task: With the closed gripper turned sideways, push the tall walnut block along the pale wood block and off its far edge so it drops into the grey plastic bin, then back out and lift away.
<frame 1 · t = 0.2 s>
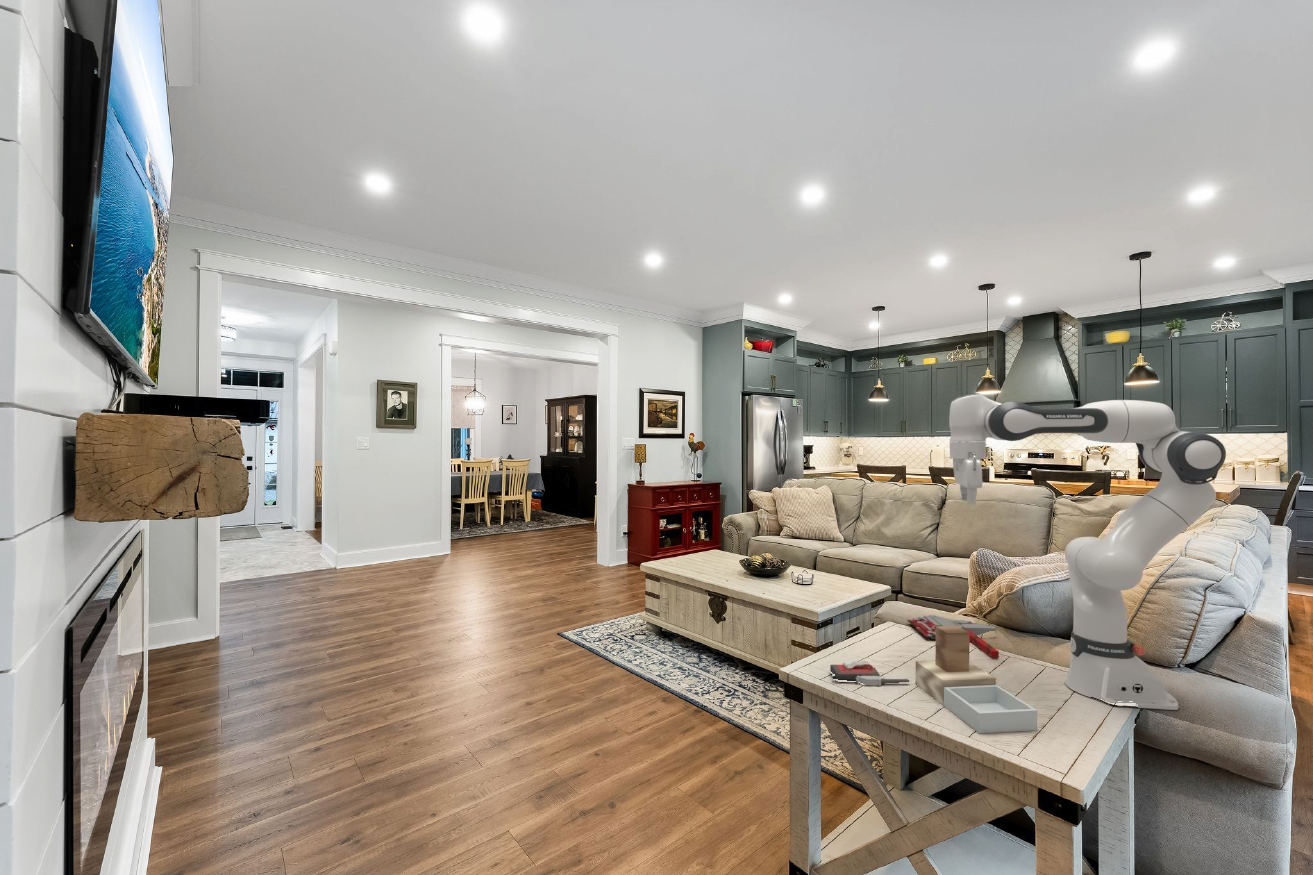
hand: (968, 502, 158), 48 cm above the table, tool pointing down, fingers open, 8 cm apart
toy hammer: (962, 642, 184), on the table
walnut block: (952, 667, 148), point 6 cm above the table, touching pale wood block
toy chainsaw: (866, 681, 155), on the table
pale wood block: (954, 692, 147), on the table
grey bin: (988, 717, 134), on the table
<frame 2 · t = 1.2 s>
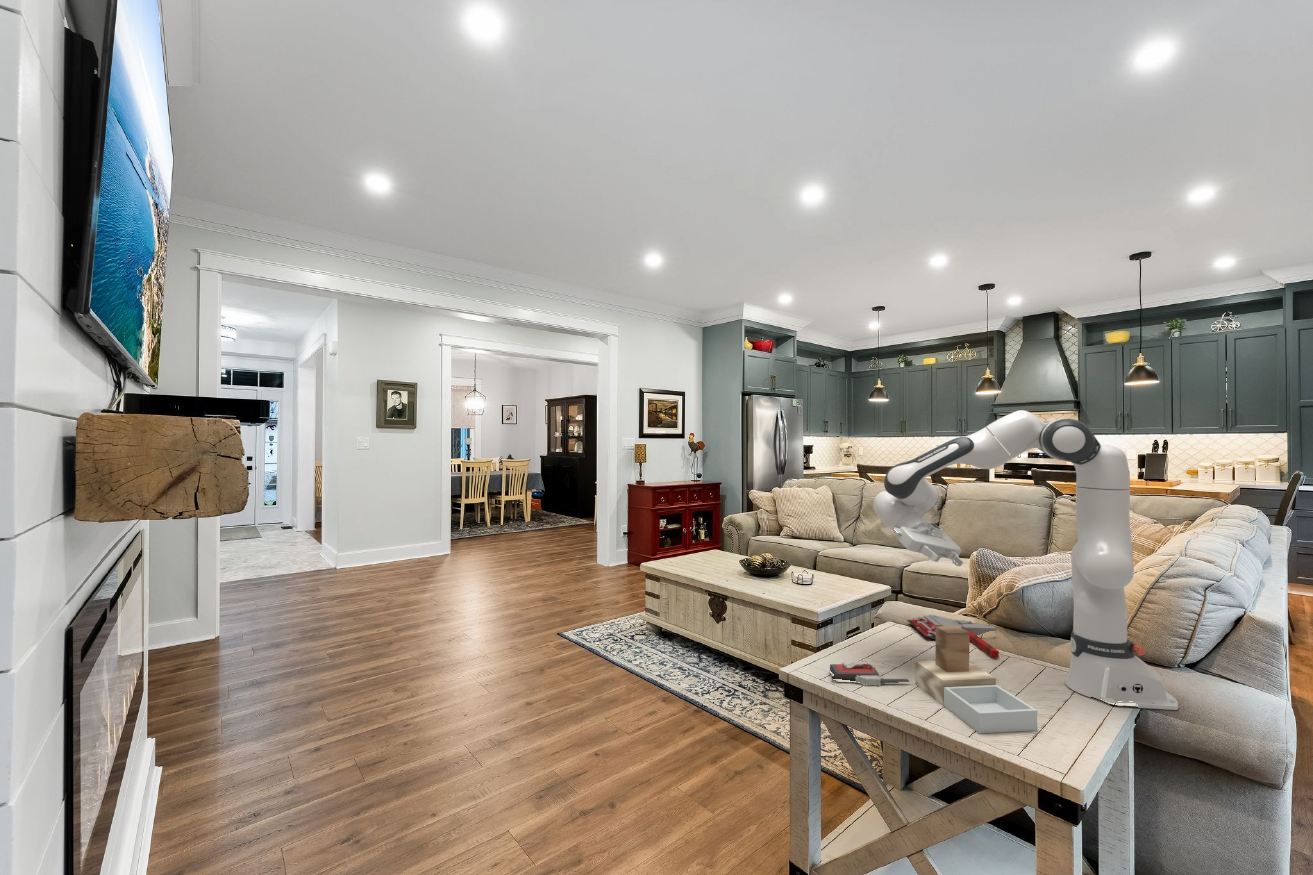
hand: (948, 561, 154), 32 cm above the table, tool tilted 65°, fingers open, 8 cm apart
nothing on the table moved.
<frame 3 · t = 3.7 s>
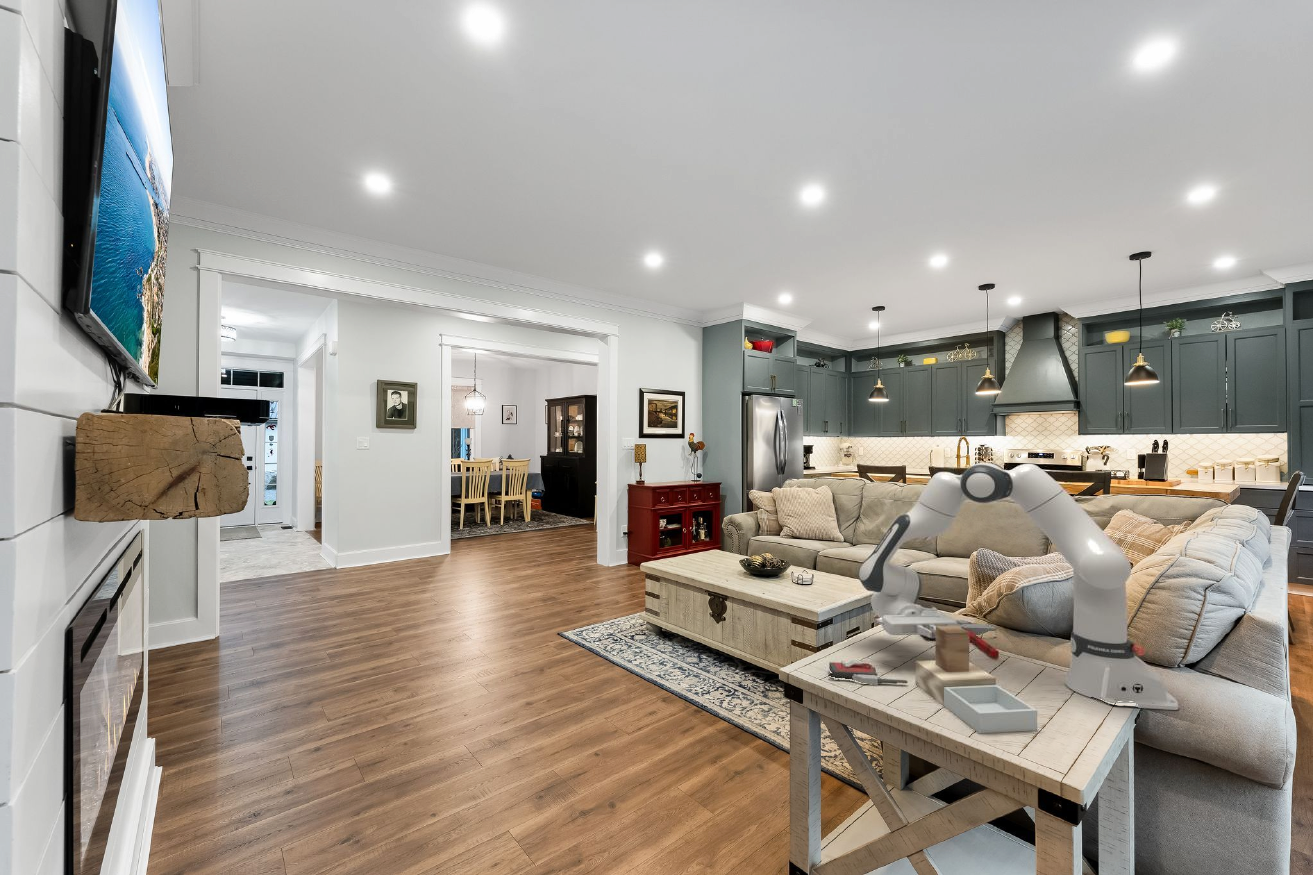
hand: (934, 634, 155), 12 cm above the table, tool horizontal, fingers closed
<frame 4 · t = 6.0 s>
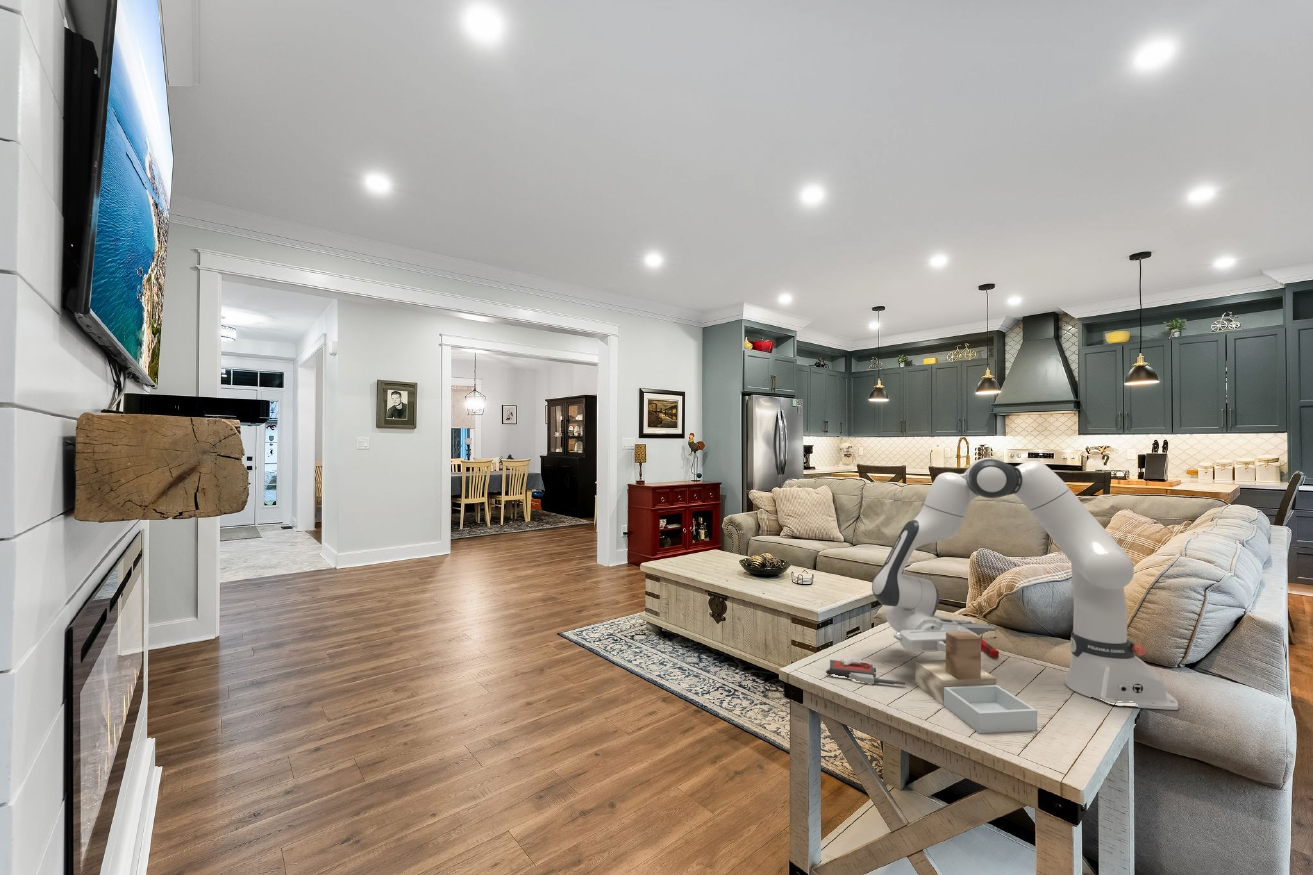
hand: (957, 651, 146), 11 cm above the table, tool horizontal, fingers closed
walnut block: (962, 674, 143), point 6 cm above the table
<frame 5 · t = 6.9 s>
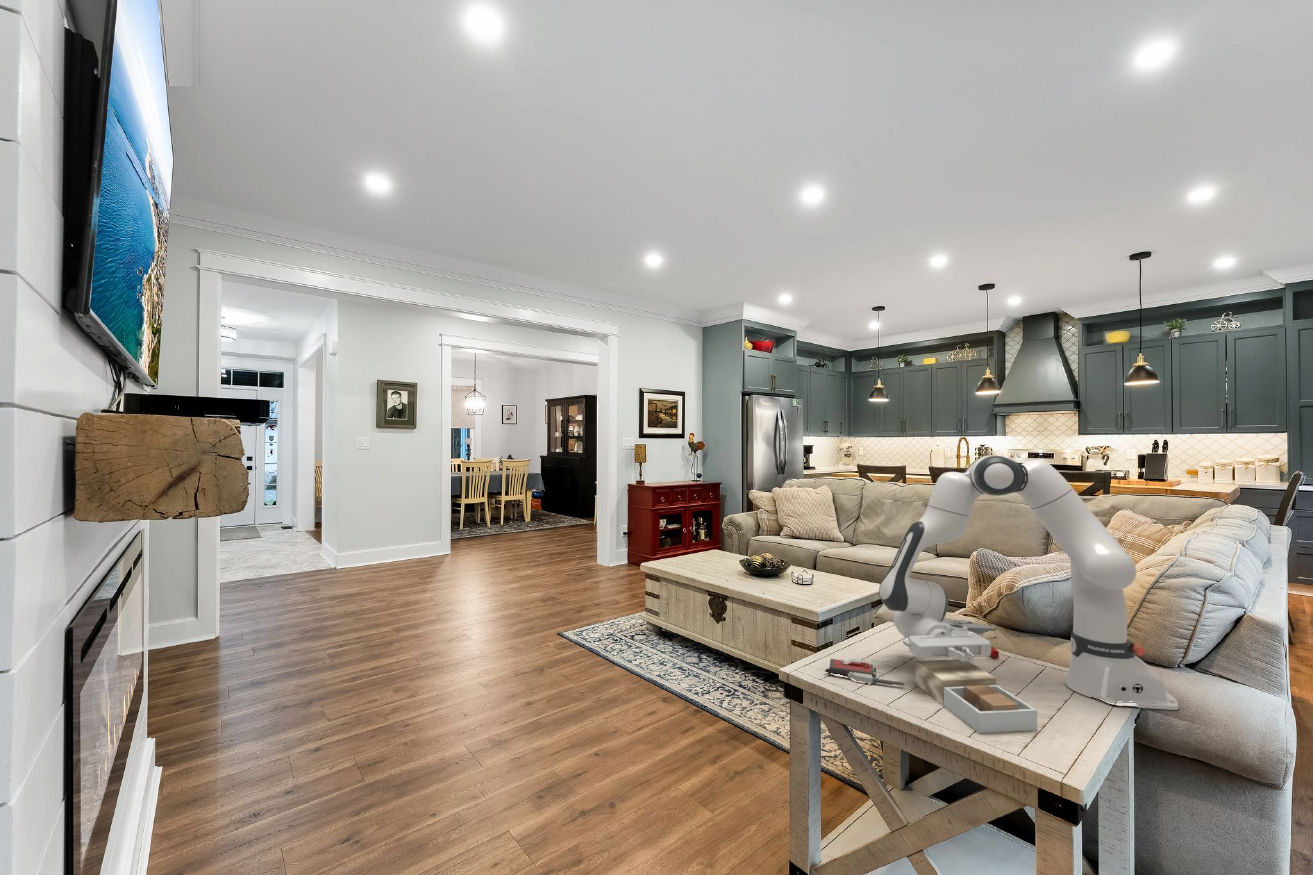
hand: (968, 658, 141), 11 cm above the table, tool horizontal, fingers closed
walnut block: (975, 695, 138), point 3 cm above the table, tilted 90°, touching grey bin
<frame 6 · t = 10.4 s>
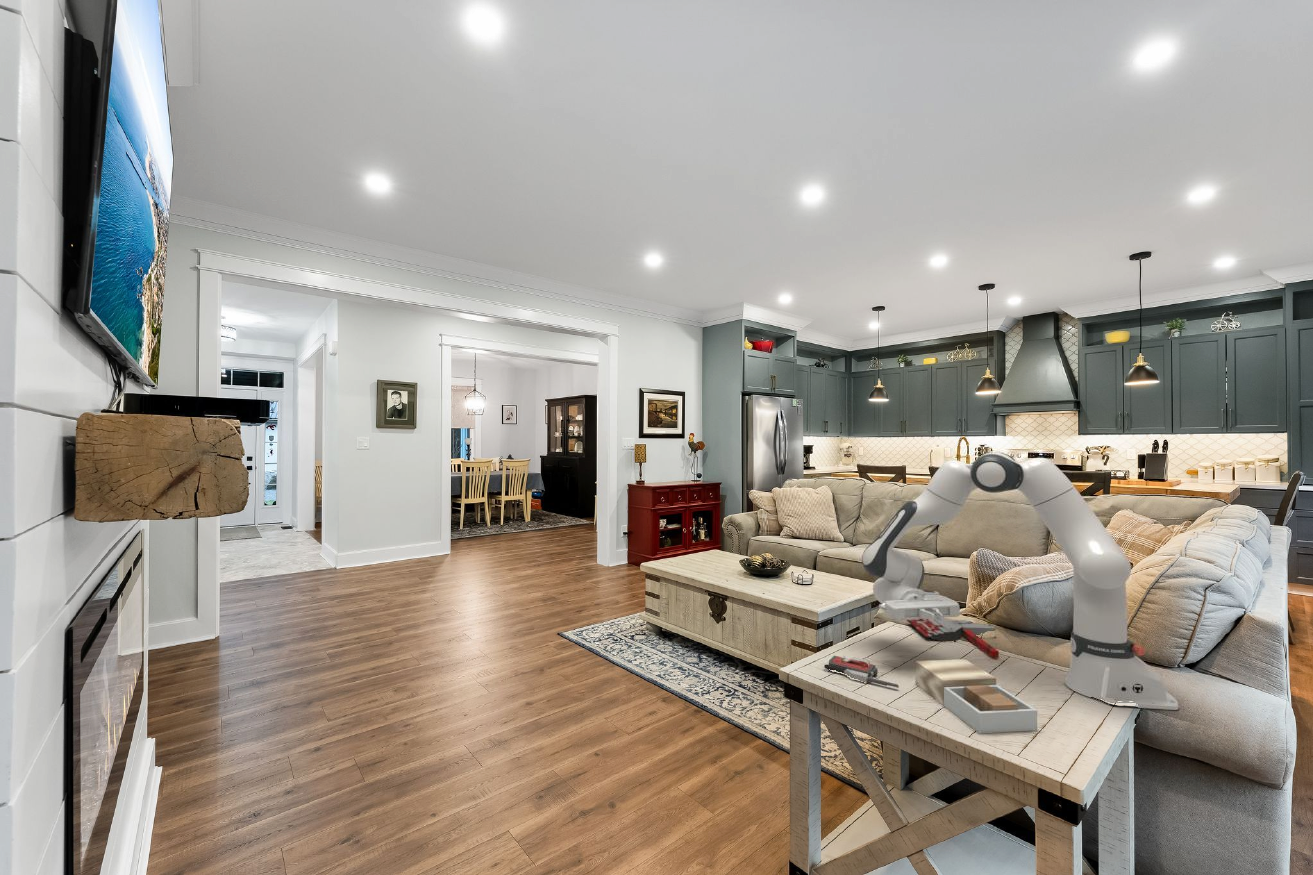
hand: (937, 617, 154), 17 cm above the table, tool horizontal, fingers closed
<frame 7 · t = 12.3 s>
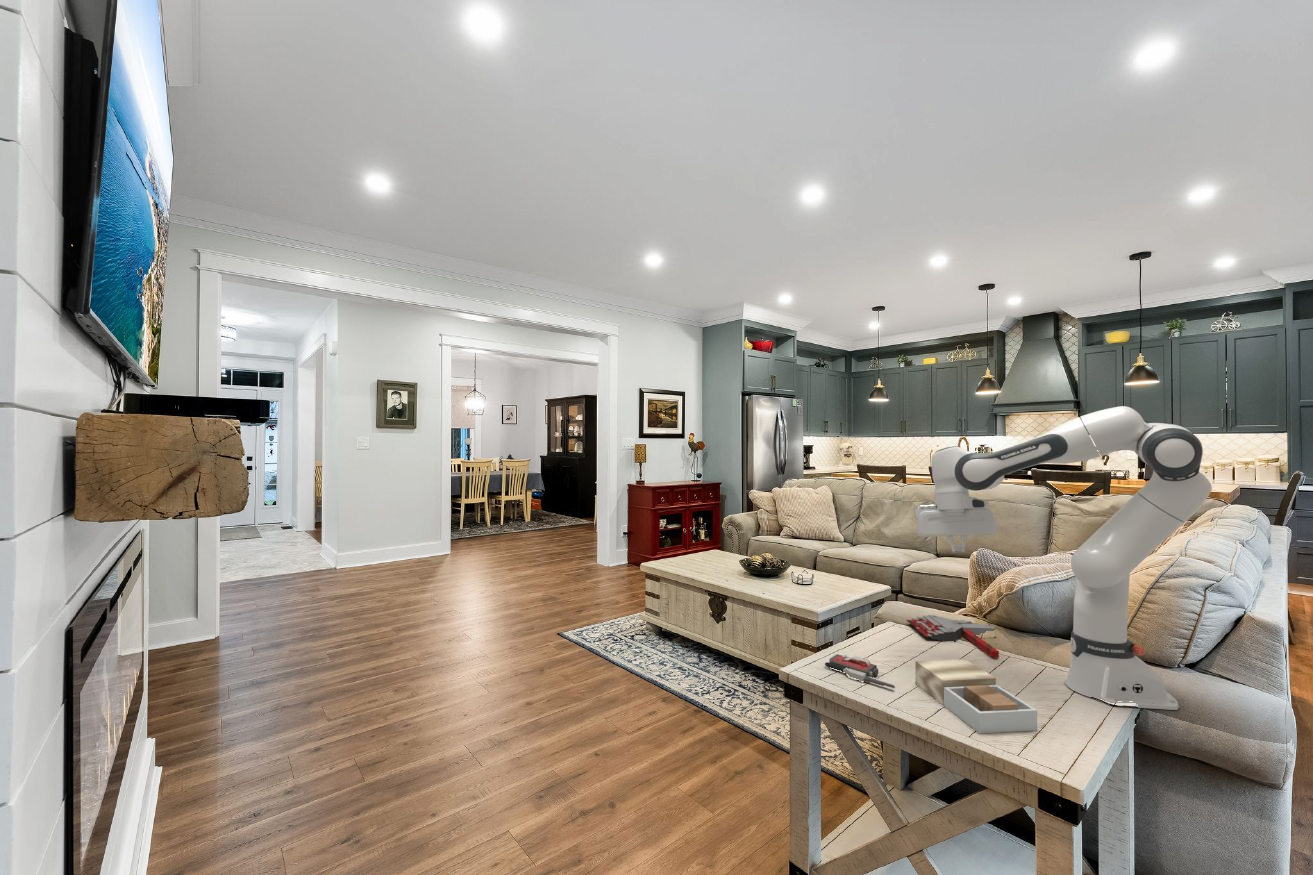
hand: (958, 552, 163), 33 cm above the table, tool pointing down, fingers closed
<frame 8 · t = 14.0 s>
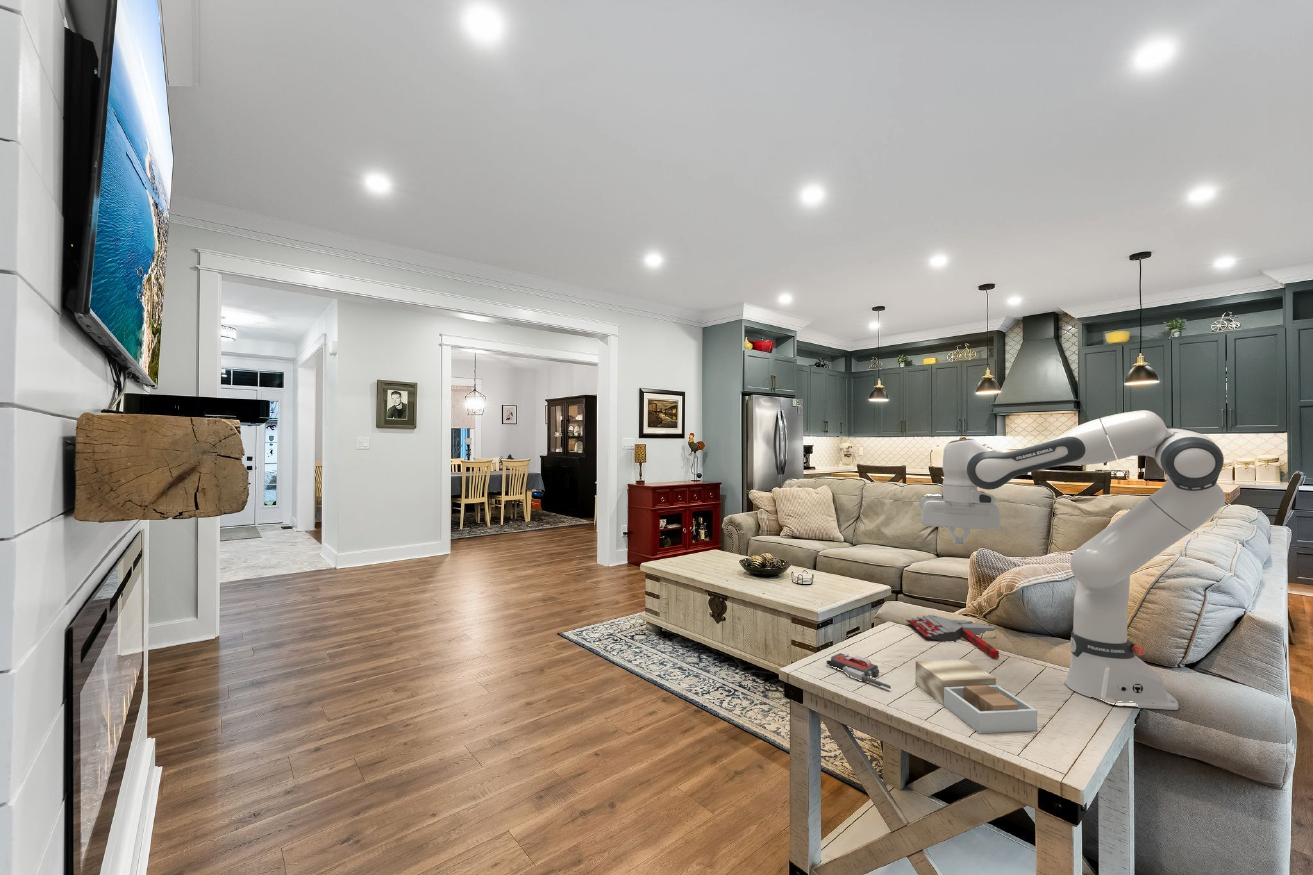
hand: (959, 543, 164), 35 cm above the table, tool pointing down, fingers closed
at the end: walnut block inside the target area on the grey bin (4.3 cm from its centre), point 3.1 cm above the grey bin's base; walnut block tilted 90° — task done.
